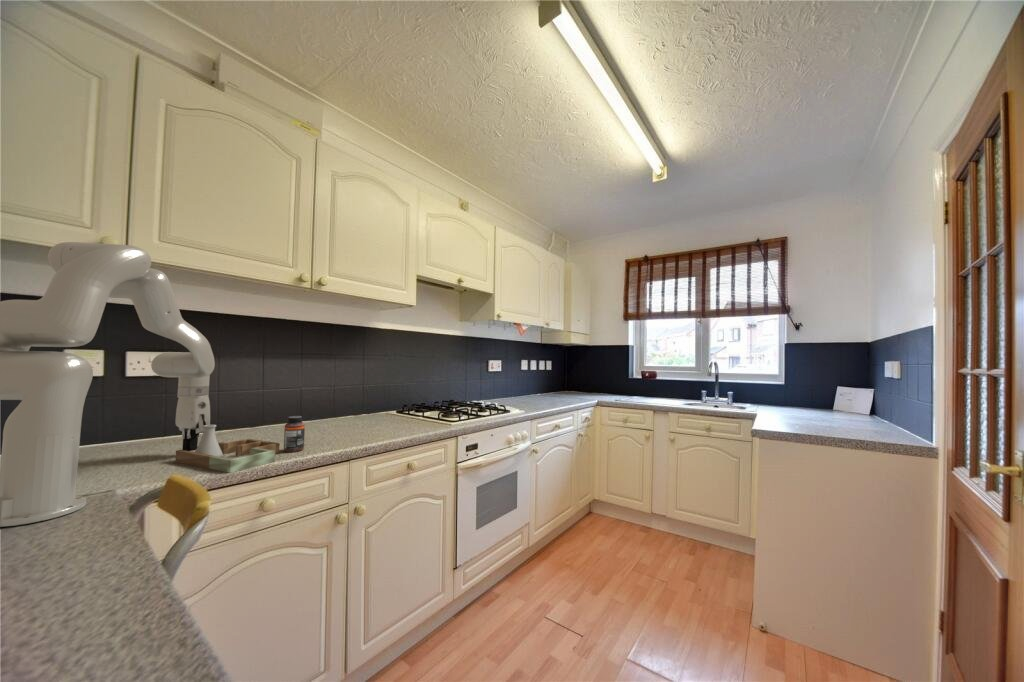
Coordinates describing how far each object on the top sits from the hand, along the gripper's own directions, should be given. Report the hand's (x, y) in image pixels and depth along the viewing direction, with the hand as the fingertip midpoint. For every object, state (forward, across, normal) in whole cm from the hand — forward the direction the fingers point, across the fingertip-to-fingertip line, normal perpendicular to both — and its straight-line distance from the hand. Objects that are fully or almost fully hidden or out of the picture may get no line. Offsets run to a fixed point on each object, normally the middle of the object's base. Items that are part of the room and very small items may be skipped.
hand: (189, 450), depth 117 cm
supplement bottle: (+2, -23, -18) cm, 29 cm away
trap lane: (+1, -18, -4) cm, 18 cm away
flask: (+2, -9, 0) cm, 9 cm away
